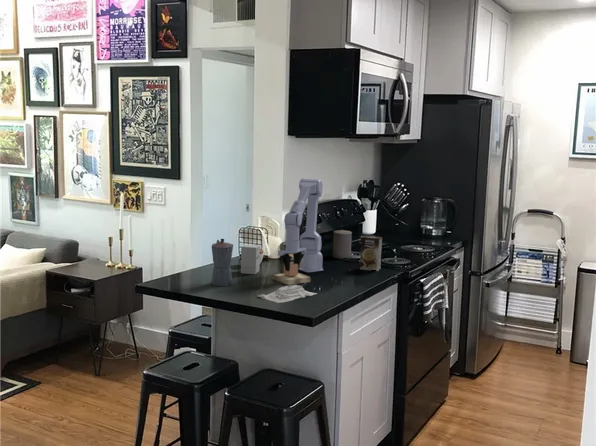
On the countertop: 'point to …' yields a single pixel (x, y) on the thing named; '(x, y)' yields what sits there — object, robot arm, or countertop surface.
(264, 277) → the countertop surface
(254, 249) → the supplement box
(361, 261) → the coffee box
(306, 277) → the base
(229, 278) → the moka pot
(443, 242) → the countertop surface
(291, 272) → the block
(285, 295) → the terrain model
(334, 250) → the pillar candle
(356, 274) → the countertop surface
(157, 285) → the countertop surface
